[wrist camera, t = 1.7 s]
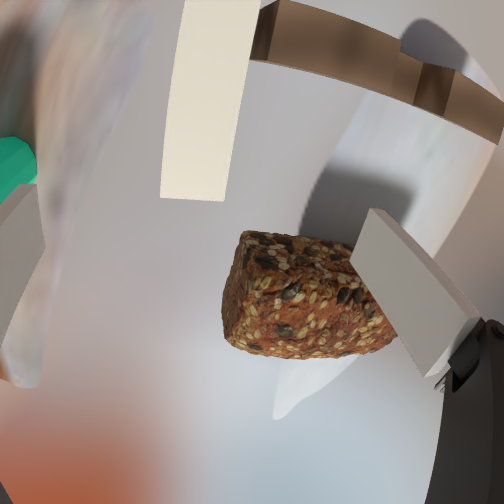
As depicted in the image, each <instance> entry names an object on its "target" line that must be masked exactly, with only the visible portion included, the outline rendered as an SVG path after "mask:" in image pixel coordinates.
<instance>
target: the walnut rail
mask: <svg viewBox="0 0 504 504" xmlns="http://www.w3.org/2000/svg"><path fill="white" fill-rule="evenodd" d="M401 44H402V41H401V40H399V39H396V38H394V37H392V36H389V35H388V34H385V33H383V32H381V31H378V30H376V29H374V28H371V27H369V26H366V25H363V24H361V23H359V22H356V21H353V20H351V19H347V18H345V17H342V16H339V15H336V14H333V13H330V12H327V11H324V10H321V9H318V8H314V7H311V6H308V5H304V4H301V3H297V2H293V1H289V0H277V1H275V2H273V3H271V4H269V5H267V6H265V7H264V8H262V9H260V10H259V15H258V19H257V24H256V29H255V33H254V38H253V43H252V48H251V53H250V58H249V60H253V61H259V62H264V63H270V64H275V65H280V66H284V67H289V68H293V69H298V70H302V71H306V72H311V73H314V74H318V75H322V76H326V77H329V78H333V79H337V80H340V81H343V82H347V83H350V84H353V85H357V86H360V87H363V88H366V89H369V90H372V91H375V92H378V93H381V94H383V95H386V96H389V97H392V98H394V99H397V100H400V101H402V102H405V103H407V104H410V105H412V106H415V107H417V108H420V109H422V110H425V111H427V112H429V113H432V114H434V115H436V116H438V117H441V118H443V119H445V120H447V121H449V122H452V123H454V124H456V125H458V126H460V127H463V128H465V129H467V130H469V131H471V132H473V133H475V134H477V135H479V136H481V137H483V138H485V139H487V140H489V141H491V142H493V143H495V144H496V145H498V143H499V140H500V137H501V134H502V131H503V127H504V102H502V101H501V100H500V99H498V98H497V97H496V96H494V95H493V94H491V93H490V92H489V91H487V90H486V89H484V88H483V87H481V86H480V85H478V84H477V83H475V82H474V81H472V80H471V79H469V78H468V77H466V76H465V75H463V74H461V73H460V72H458V71H456V70H453V69H449V68H445V67H441V66H436V65H432V64H427V63H423V62H421V61H419V60H417V59H415V58H413V57H410V56H408V55H406V54H404V53H402V52H400V49H401Z"/></svg>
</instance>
